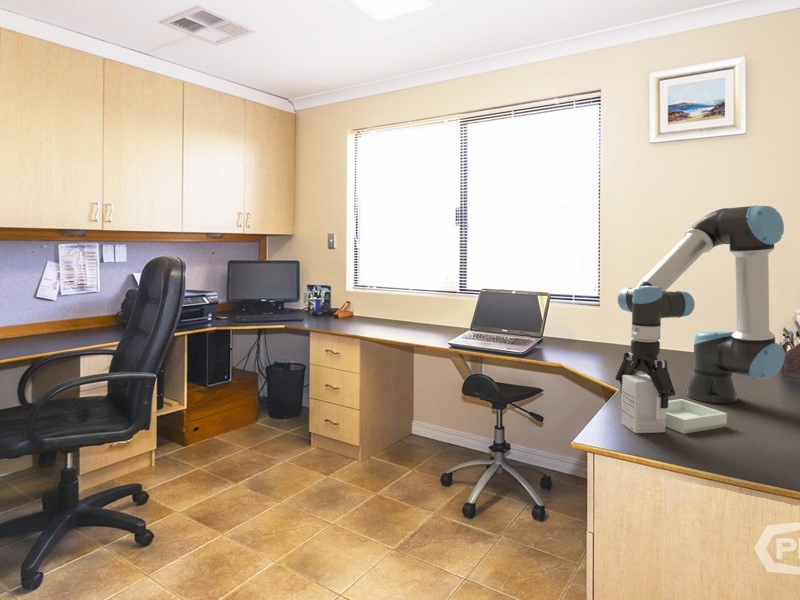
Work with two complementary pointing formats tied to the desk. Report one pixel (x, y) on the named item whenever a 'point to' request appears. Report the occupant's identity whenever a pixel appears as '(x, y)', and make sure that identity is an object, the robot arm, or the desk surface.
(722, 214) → the robot arm
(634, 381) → the supplement box
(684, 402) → the tote
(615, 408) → the desk surface
